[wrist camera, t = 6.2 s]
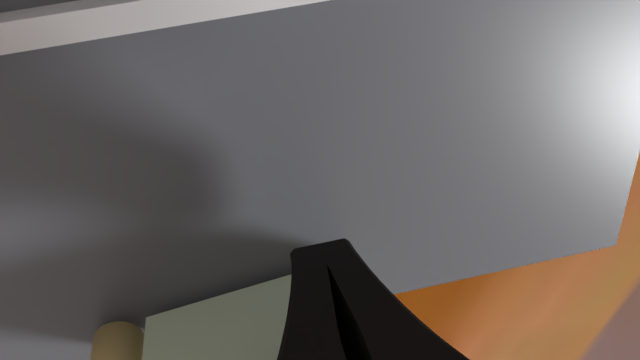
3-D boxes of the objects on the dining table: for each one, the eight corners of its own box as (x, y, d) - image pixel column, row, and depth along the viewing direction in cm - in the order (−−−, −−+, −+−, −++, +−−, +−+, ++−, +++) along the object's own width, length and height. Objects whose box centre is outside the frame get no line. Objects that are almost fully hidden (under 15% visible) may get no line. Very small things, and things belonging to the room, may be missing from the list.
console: (589, 218, 20) (631, 261, 18) (-56, 357, 18) (-86, 422, 16) (726, -430, 11) (839, -482, 9) (-558, -303, 9) (-770, -337, 7)
